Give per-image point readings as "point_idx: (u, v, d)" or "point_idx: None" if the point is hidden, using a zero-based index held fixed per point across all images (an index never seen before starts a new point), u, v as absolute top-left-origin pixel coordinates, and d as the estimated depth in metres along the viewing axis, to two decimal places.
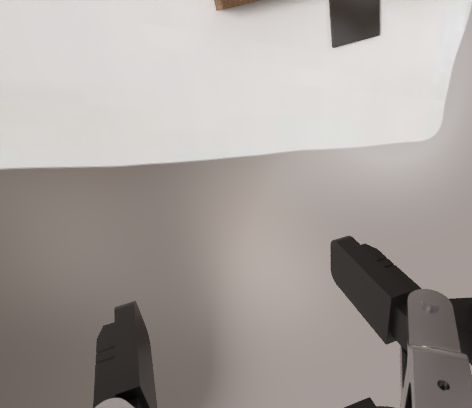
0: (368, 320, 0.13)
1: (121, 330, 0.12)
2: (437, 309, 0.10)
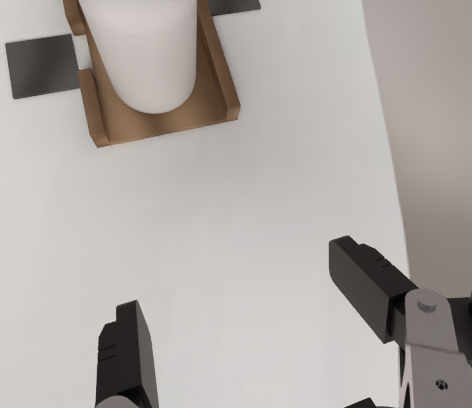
0: (366, 320, 0.13)
1: (123, 328, 0.12)
2: (434, 309, 0.10)
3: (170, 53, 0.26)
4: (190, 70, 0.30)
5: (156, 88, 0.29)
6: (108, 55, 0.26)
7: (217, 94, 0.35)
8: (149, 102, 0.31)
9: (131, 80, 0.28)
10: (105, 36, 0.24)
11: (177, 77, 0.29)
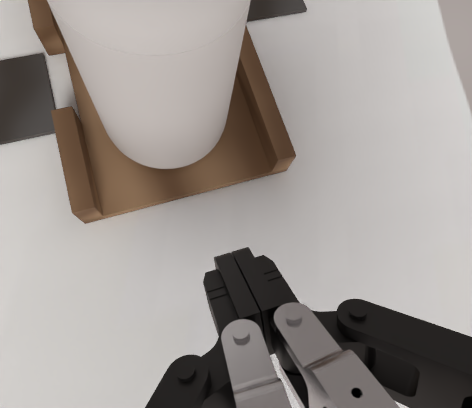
0: None
1: (227, 273, 0.13)
2: (297, 323, 0.11)
3: (205, 84, 0.15)
4: (226, 107, 0.20)
5: (176, 137, 0.18)
6: (100, 89, 0.15)
7: (257, 135, 0.24)
8: (162, 155, 0.20)
9: (136, 126, 0.17)
10: (94, 57, 0.13)
11: (209, 119, 0.19)
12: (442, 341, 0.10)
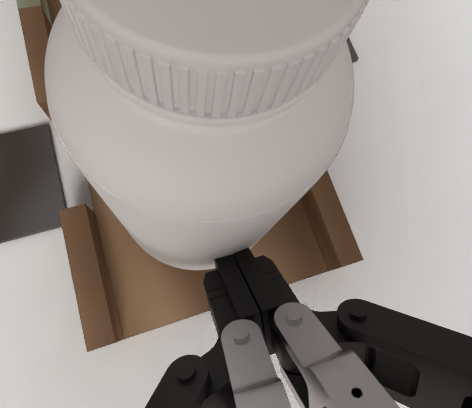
0: None
1: (227, 273, 0.13)
2: (298, 323, 0.11)
3: (276, 219, 0.11)
4: None
5: None
6: (129, 224, 0.11)
7: (308, 224, 0.20)
8: (200, 265, 0.16)
9: (174, 253, 0.13)
10: (128, 211, 0.09)
11: None
12: (443, 341, 0.10)
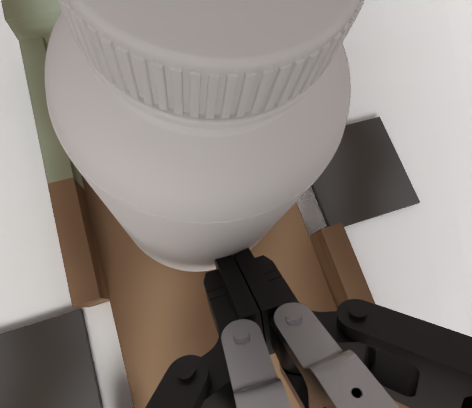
0: None
1: (227, 273, 0.13)
2: (298, 323, 0.11)
3: (282, 215, 0.11)
4: None
5: None
6: (136, 231, 0.11)
7: None
8: (206, 266, 0.16)
9: (181, 256, 0.13)
10: (137, 217, 0.09)
11: None
12: (442, 341, 0.10)
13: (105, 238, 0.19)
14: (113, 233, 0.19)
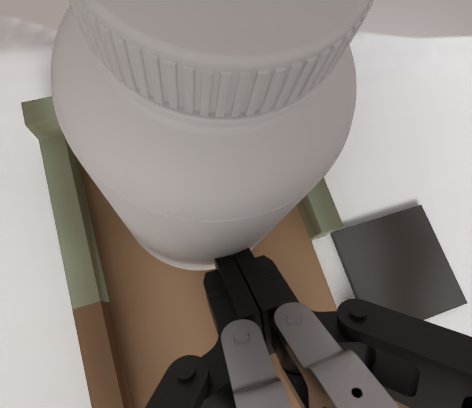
0: None
1: (227, 273, 0.13)
2: (298, 323, 0.11)
3: (287, 213, 0.11)
4: None
5: (232, 254, 0.14)
6: (141, 229, 0.11)
7: None
8: (209, 265, 0.16)
9: (185, 254, 0.13)
10: (144, 216, 0.09)
11: None
12: (443, 341, 0.10)
13: (133, 358, 0.17)
14: (141, 352, 0.17)
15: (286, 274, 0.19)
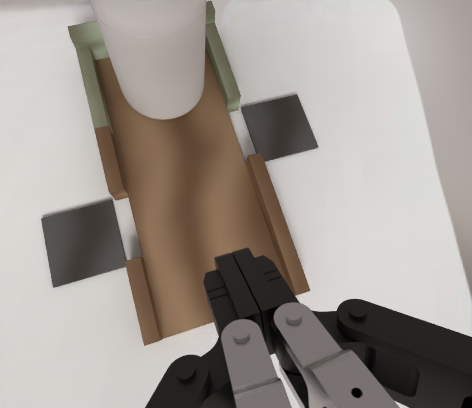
0: None
1: (227, 273, 0.13)
2: (298, 323, 0.11)
3: (185, 53, 0.26)
4: (201, 71, 0.31)
5: (171, 91, 0.30)
6: (124, 62, 0.27)
7: (279, 265, 0.31)
8: (163, 107, 0.32)
9: (146, 86, 0.29)
10: (122, 42, 0.24)
11: (190, 79, 0.30)
12: (442, 341, 0.10)
13: (125, 162, 0.32)
14: (129, 159, 0.33)
15: (211, 126, 0.34)
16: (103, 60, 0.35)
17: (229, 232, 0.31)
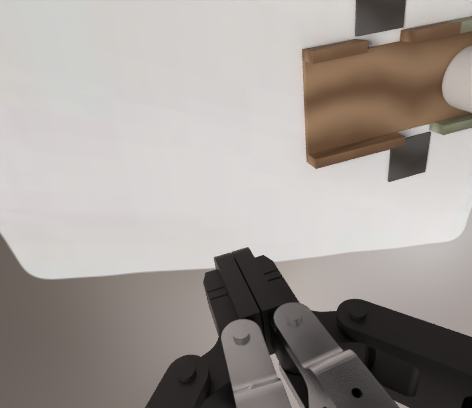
0: None
1: (227, 273, 0.13)
2: (298, 323, 0.11)
3: None
4: None
5: (470, 90, 0.42)
6: None
7: (328, 148, 0.45)
8: (457, 79, 0.43)
9: None
10: None
11: None
12: (442, 341, 0.10)
13: (425, 41, 0.42)
14: (426, 45, 0.43)
15: (426, 110, 0.47)
16: None
17: (357, 116, 0.44)
